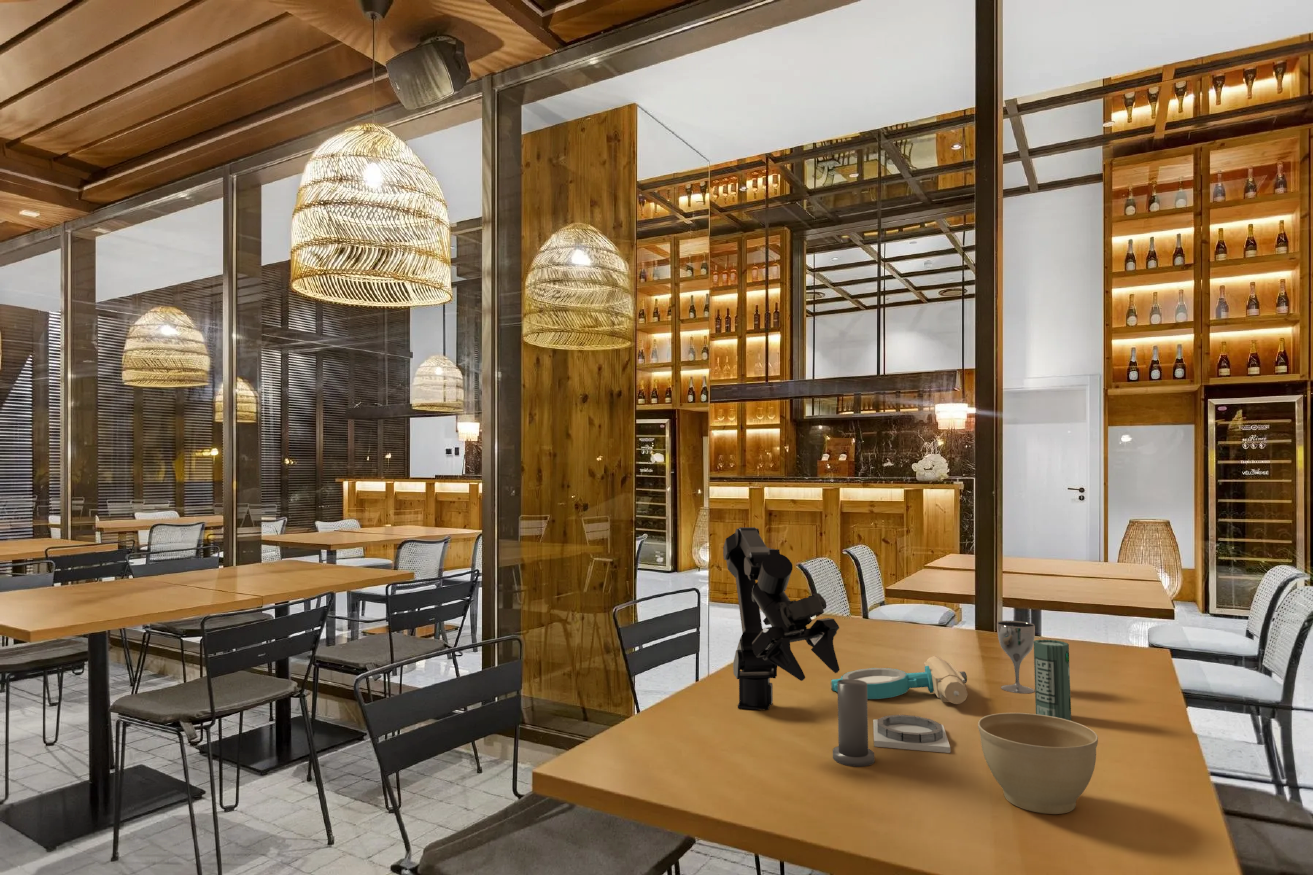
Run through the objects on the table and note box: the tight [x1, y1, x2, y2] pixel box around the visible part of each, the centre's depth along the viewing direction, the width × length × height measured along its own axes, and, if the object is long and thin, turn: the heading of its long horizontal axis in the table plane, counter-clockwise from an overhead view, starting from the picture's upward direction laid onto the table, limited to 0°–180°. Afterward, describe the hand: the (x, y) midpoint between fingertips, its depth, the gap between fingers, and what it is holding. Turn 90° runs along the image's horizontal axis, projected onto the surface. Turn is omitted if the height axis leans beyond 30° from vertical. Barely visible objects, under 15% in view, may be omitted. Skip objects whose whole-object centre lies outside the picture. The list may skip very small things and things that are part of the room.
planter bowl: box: [977, 712, 1099, 815], centre depth 114 cm, size 16×16×11 cm
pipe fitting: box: [832, 679, 875, 768], centre depth 132 cm, size 7×7×13 cm
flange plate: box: [872, 714, 951, 754], centre depth 142 cm, size 13×13×2 cm
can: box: [1033, 639, 1072, 721], centre depth 155 cm, size 6×6×15 cm
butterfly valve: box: [829, 655, 969, 705], centre depth 172 cm, size 27×7×30 cm
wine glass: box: [996, 620, 1036, 694], centre depth 176 cm, size 8×8×15 cm
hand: (820, 675), depth 138 cm, fingers open, 9 cm apart
